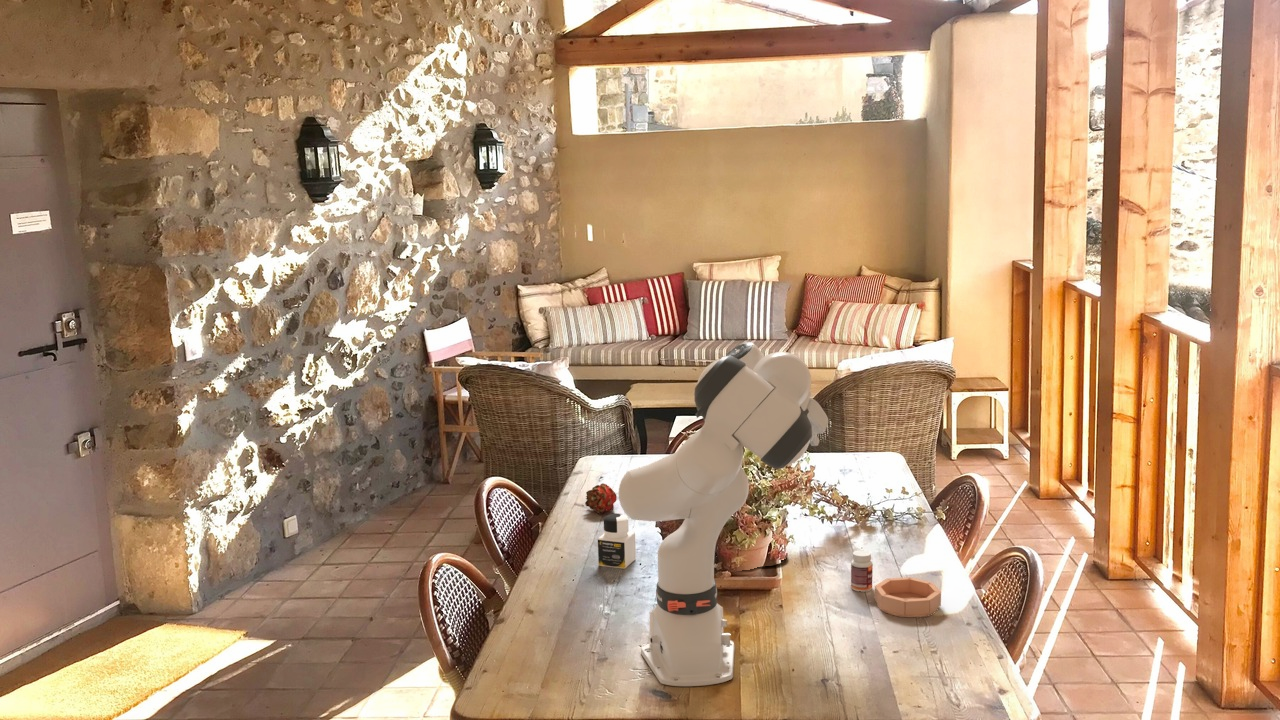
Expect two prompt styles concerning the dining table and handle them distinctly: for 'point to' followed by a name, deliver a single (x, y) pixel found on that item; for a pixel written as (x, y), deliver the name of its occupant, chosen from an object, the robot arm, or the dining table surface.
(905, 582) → the bowl
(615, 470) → the dining table surface
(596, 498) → the dragon fruit
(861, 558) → the pill bottle
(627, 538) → the medicine bottle
